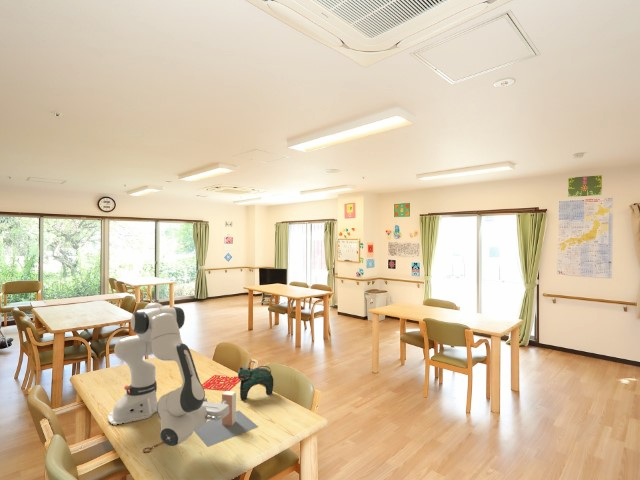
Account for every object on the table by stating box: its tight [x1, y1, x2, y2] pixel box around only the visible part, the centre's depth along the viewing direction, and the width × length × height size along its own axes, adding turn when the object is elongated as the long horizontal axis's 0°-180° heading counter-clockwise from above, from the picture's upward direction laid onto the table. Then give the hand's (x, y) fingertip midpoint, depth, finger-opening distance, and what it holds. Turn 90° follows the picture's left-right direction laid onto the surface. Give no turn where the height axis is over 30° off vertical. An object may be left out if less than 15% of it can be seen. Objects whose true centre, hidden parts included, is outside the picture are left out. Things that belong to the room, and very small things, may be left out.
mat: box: [194, 410, 259, 448], centre depth 156 cm, size 24×20×1 cm
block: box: [221, 390, 237, 426], centre depth 160 cm, size 4×5×14 cm
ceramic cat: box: [237, 360, 274, 401], centre depth 189 cm, size 20×6×20 cm, turn 114°
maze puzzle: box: [201, 374, 241, 392], centre depth 207 cm, size 20×20×1 cm
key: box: [142, 441, 164, 454], centre depth 145 cm, size 6×1×15 cm
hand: (215, 401), depth 148 cm, fingers open, 8 cm apart
